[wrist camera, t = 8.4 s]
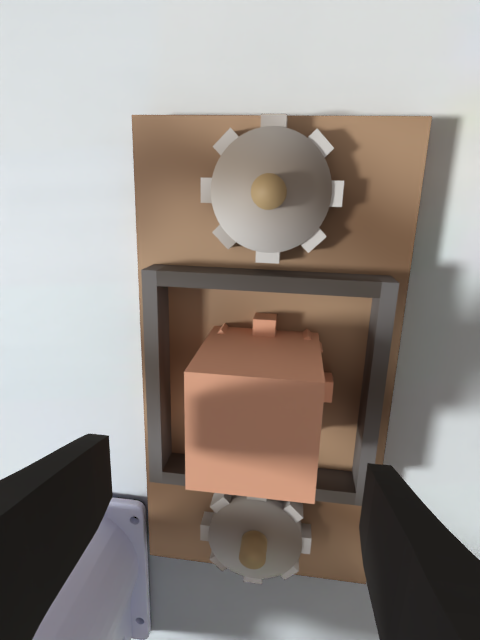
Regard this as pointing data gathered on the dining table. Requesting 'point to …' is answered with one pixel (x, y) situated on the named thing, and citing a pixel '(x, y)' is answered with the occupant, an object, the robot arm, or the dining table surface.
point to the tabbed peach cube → (255, 412)
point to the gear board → (274, 309)
